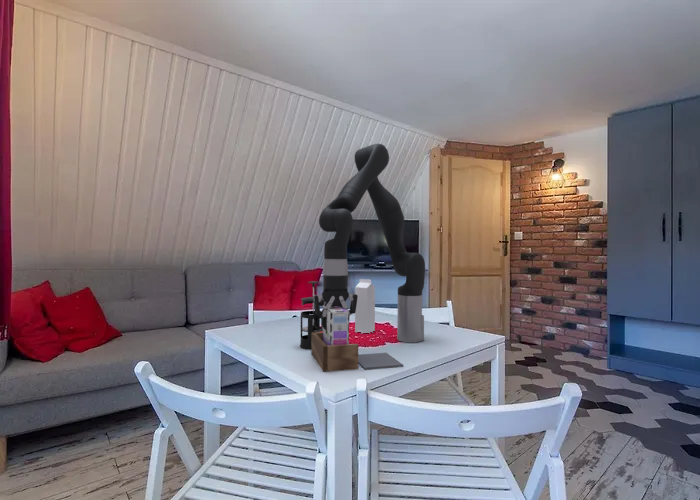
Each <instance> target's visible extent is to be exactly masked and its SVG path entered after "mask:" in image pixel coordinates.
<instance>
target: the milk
mask: <svg viewBox="0 0 700 500" xmlns="http://www.w3.org/2000/svg"><path fill="white" fill-rule="evenodd" d="M358 281H359V282H358V283H357V285H356V286H355V290H354V294H356V295H357V296H358V298H357V305H356V312H355V313H354V332H355V333H357V332H361V333H360V334H363V333H369V334H371V333H370V332H372V333H374V332H373V331H375V332H376V330H375V329H376V328H375V327H376V325H375V324H376V323H375V322H376V286H375V285H374V284H373V283H372V280H371V279H367V278H366V279H365V278H359V280H358Z"/></svg>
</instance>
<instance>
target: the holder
mask: <svg viewBox="0 0 700 500" xmlns="http://www.w3.org/2000/svg"><path fill="white" fill-rule="evenodd" d="M310 351H311V352H310V355H311V357H313V359H314V361H315V362H316V363H317V365H318V366H319V368H320V369H321V371H322V372H323V373H324V372H325V373H326V372H338V371H349V370H350V371H351V370H359V364H358V355H359V344H358V343H349V344H345V345H329V346H327V345H326V344H325V343H324V342H323V331H322V332H315V333H314V332H313V333H311V350H310Z"/></svg>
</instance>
